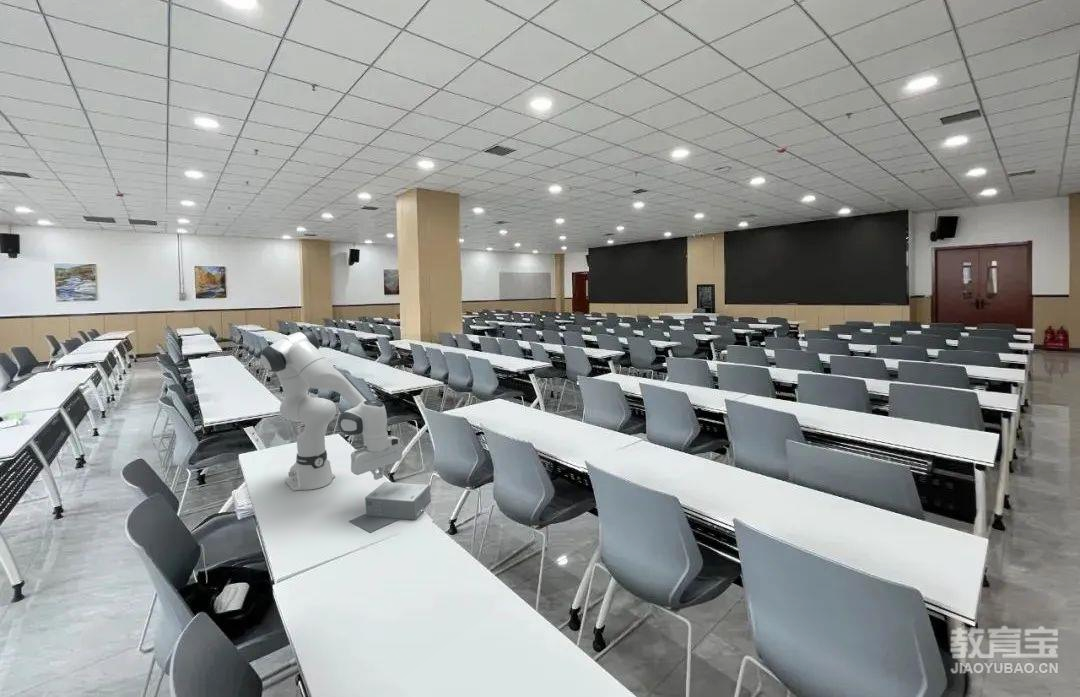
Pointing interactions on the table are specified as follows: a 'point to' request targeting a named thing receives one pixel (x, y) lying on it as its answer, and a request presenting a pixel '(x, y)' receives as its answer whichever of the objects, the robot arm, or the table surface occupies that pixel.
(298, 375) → the robot arm
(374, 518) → the mat
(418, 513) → the hard drive box
